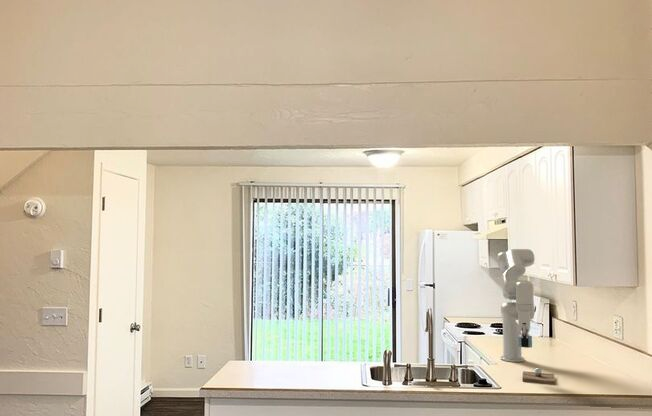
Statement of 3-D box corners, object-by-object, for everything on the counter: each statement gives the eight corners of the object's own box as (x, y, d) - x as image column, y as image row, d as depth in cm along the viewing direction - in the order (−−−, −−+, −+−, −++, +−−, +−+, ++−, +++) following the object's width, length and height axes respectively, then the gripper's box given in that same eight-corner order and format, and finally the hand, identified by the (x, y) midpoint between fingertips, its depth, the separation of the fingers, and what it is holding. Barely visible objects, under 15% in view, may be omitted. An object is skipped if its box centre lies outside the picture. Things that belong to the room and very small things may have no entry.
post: (535, 375, 244) (535, 367, 244) (541, 375, 243) (541, 368, 243) (535, 376, 241) (535, 369, 241) (541, 377, 240) (541, 369, 240)
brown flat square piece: (522, 374, 251) (522, 371, 251) (554, 377, 246) (553, 374, 246) (522, 381, 238) (522, 378, 238) (555, 384, 233) (555, 381, 233)
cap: (518, 344, 249) (518, 334, 249) (532, 345, 246) (531, 335, 247) (518, 346, 243) (518, 336, 244) (531, 348, 241) (531, 337, 241)
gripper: (517, 305, 256) (518, 341, 254) (515, 309, 240) (515, 348, 238) (533, 306, 252) (534, 342, 251) (532, 310, 237) (533, 349, 235)
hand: (525, 345), depth 245 cm, fingers closed on cap, 6 cm apart
